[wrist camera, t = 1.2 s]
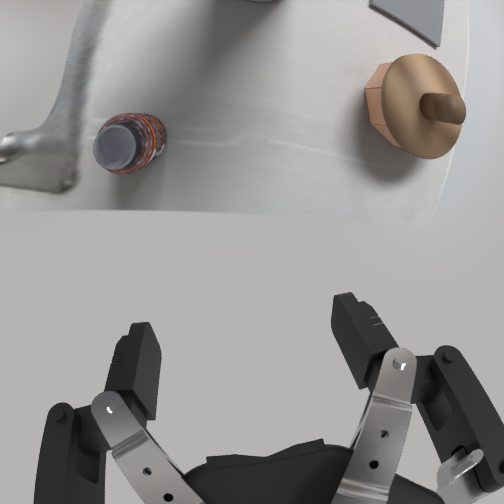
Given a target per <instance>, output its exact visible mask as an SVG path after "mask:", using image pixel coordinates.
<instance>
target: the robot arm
mask: <svg viewBox="0 0 504 504" xmlns="http://www.w3.org/2000/svg"><path fill="white" fill-rule="evenodd" d="M250 1H254V2H270V1H275V0H250ZM332 308H333V309H332V317H331V328H332V332H333V335H334V337H335V339H336V341H337V343H338V344H339V347H340V349H341V351H342V353H343V355H344V358H345V360H346V362H347V364H348V366H349V368H350V370H351V373H352V375H353V377H354V379H355V381H356V383H357V385H358V388H359V389H363V388H367V387H368V389H369V391H370V394H369V396H368V400H367V402H366V405H365V408H364V411H363V414H362V417H361V419H360V422H359V425H358V427H357V430H356V432H355V435H354V437H353V439H352V441H351V444H350V446H349V448H347V447H344V446H339V445H331V444H326V445H325V444H324V441H323V439H318V440H314V441H310V442H306V443H301V444H297V445H293V446H291V447H289V448H287V449H285V450H282V451H280V452H277V453H275V454H273V455H270V456H267V457H257V456H247V455H237V454H233V455H222V456H210V457H206V460H207V463H205V464H202V465H200V466H197V467H195V468H194V469H192V470H190V471H189V472H187V473H186V474H185V473H184V472H182V470H181V469H180V468H179V467H178V466H177V465H176V464H175V463H174V462H173V461H172V460H171V458H170V457H169V456H168V455H167V454H166V453H165V451H164V450H163V449H162V448H161V446H160V445H159V444H158V443H157V441H156V440H155V439H154V438H153V436H152V435H151V434H150V433H149V431H148V430H147V429H146V424H147V420H155V419H156V406H157V395H158V385H159V375H160V367H161V349H160V346H159V343H158V341H157V339H156V336H155V334H154V332H153V329H152V327H151V325H150V323H149V322H142V323H132V324H131V327H130V330H129V334H128V335H127V336H122V338H121V339H120V340H119V341H118V343H117V344H116V347H115V351H114V356H113V358H112V363H111V366H110V369H109V373H108V377H107V382H106V385H105V389H104V392H102V393H100V394H99V395H97V396H96V397H95V398H94V400H93V402H92V404H91V405H88V406H85V407H81V408H76V409H73V408H72V407H71V406H70V405H69V404H68V403H58V404H56V405H54V406H53V407H52V408H51V409H50V410H49V412H48V416H47V420H46V424H45V428H44V433H43V438H42V443H41V448H40V454H39V460H38V467H37V474H36V482H35V492H34V504H105V466H106V451H108V450H113V452H112V456H113V458H114V460H115V462H116V463H117V465H118V466H119V468H120V470H121V471H122V473H123V474H124V476H125V477H126V478H127V480H128V481H129V483H130V484H131V486H132V487H133V488H134V490H135V491H136V493H137V494H138V495H139V497H140V498H141V499H142V500H143V502H144V503H145V504H472V503H474V502H475V501H477V500H479V499H481V498H483V497H485V496H487V495H489V494H491V493H493V492H495V491H497V490H498V489H500V488H502V487H503V486H504V424H503V422H502V421H501V419H500V417H499V415H498V413H497V411H496V410H495V408H494V406H493V404H492V402H491V401H490V399H489V397H488V395H487V394H486V392H485V390H484V389H483V387H482V385H481V384H480V382H479V380H478V379H477V377H476V375H475V374H474V372H473V371H472V369H471V368H470V366H469V364H468V363H467V361H466V360H465V358H464V357H463V355H462V354H461V353H460V351H459V350H458V349H456V348H455V347H452V346H448V345H444V346H441V347H439V348H438V349H437V350H436V351H435V353H434V355H427V356H415V355H414V354H413V353H412V352H411V351H409V350H407V349H405V348H400V347H399V346H398V345H397V343H396V341H395V340H394V338H393V337H392V335H391V334H390V332H389V331H388V329H387V328H386V326H385V325H384V324H383V323H382V321H381V319H380V317H378V314H377V313H376V312H375V310H374V309H373V307H372V306H370V305H369V304H367V303H366V302H364V301H362V302H358V301H357V299H356V298H355V296H354V295H353V294H352V292H348V293H343V294H338V295H335V296H334V299H333V307H332ZM414 403H416V405H417V408H418V410H419V412H420V414H421V416H422V418H423V421H424V423H425V425H426V427H427V430H428V432H429V434H430V437H431V439H432V441H433V444H434V446H435V449H436V451H437V454H438V456H439V458H440V461H441V464H442V465H441V466H440V467H439V469H438V472H437V483H438V488H437V491H436V492H434V491H432V490H430V489H427V488H425V487H423V486H421V485H418V484H416V483H414V482H412V481H410V480H408V479H406V478H404V477H402V476H400V475H398V474H396V473H395V472H396V469H397V466H398V463H399V460H400V457H401V453H402V450H403V446H404V442H405V439H406V435H407V431H408V427H409V423H410V419H411V414H412V406H410V404H414Z"/></svg>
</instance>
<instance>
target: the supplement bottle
mask: <svg viewBox="0 0 504 504" xmlns="http://www.w3.org/2000/svg"><path fill="white" fill-rule="evenodd" d="M165 144H166V130H165V127H164V125H163V124H162V122H161V121H160V120H159V119H157V118H156V117H154V116H152V115H149V114H145V113H144V114H133V113H128V114H120V115H117V116H114V117H112V118H111V119H109V120H108V121H107V122H106V123H105V124H104V125H103V126H102V127H101V129H100V131H99V132H98V135H97V137H96V139H95V142H94V156H95V158H96V161H97V162H98V163H99V164H100V165H101V166H102V167H103V168H105V169H107V170H108V171H110V172H112V173H114V174H119V175H126V174H131V173H134V172H136V171H138V170H140V169H141V168H143V167H144V166H145V165H147V164H148V163H149V162H151V161H152V160H154V159H155V158H156V157H157V156H158V155H159V154H160V153H161V152H162V150H163V149H164V146H165Z"/></svg>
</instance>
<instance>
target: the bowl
mask: <svg viewBox="0 0 504 504" xmlns="http://www.w3.org/2000/svg"><path fill="white" fill-rule="evenodd" d="M392 63H393V62H391V63H385V64H381V65H380V66H379V68H378V69H377V71H376V72H375V74H374V75H373V77H372V78H371V80H370V81H369V83H368V84H367V86H366V87H365V94H366V99H367V105H368V111H369V118H370V123H371V125H372V126H373V127H374V128H375V129H377V130H378V131H379V132H380V133H381V134H382V135H383V136H384V137H385V138H386V139H387V140H388V141H389V142H390V143H391V144H392V145H394V146H397V147H400V146H399V144H398V143H397V142H396V141H395V140H394V138H393V137H392V135H391V133H390V132H389V130H388V127H387V125H386V123H385V120H384V116H383V112H382V107H381V86H382V82H383V78H384V75H385V73H386V71H387V69H388V68H389V66H390V65H391V64H392ZM401 148H402V147H401Z"/></svg>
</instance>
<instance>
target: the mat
mask: <svg viewBox="0 0 504 504" xmlns="http://www.w3.org/2000/svg"><path fill="white" fill-rule="evenodd" d="M370 5H371V6H373V7H375V8H377V9H379V10H380V11H382V12H384V13H386V14H387V15H389V16H391V17H393V18H394V19H396V20H398V21H399V22H401V23H402V24H404V25H406V26H407V27H409V28H410V29H412V30H413V31H415V32H416V33H418V34H419V35H421V36H422V37H423V38H425V39H426V40H428V41H429V42H430V43H432V44H433V45H434V46H436V47H440V41H441V33H442V23H443V12H444V0H370Z"/></svg>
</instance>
